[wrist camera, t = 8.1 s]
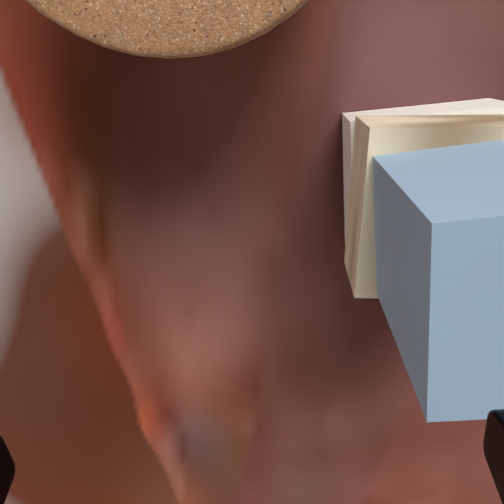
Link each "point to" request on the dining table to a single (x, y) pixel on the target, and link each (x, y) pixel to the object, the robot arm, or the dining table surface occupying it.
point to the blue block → (444, 273)
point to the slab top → (388, 142)
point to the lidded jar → (168, 23)
